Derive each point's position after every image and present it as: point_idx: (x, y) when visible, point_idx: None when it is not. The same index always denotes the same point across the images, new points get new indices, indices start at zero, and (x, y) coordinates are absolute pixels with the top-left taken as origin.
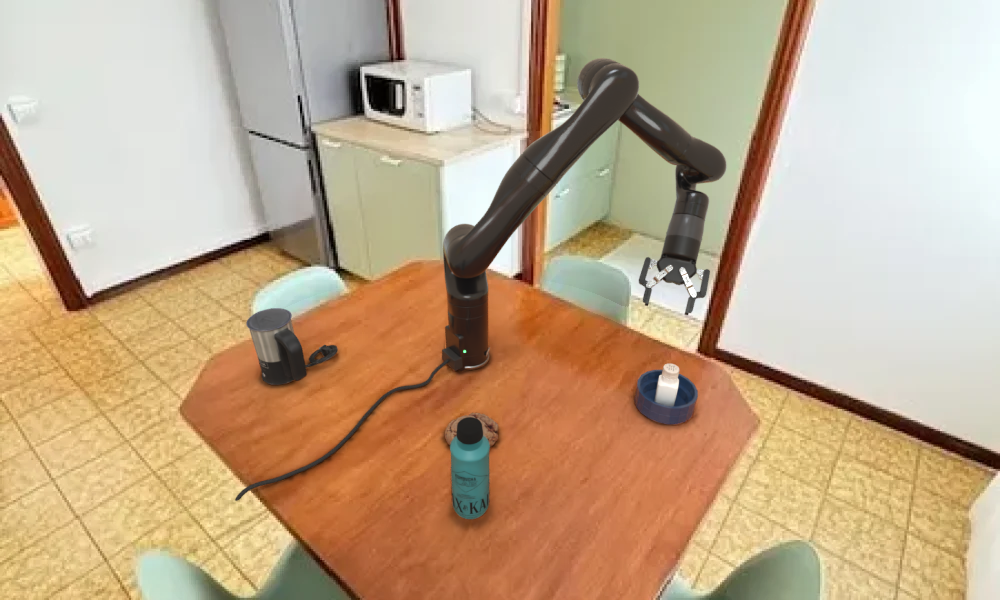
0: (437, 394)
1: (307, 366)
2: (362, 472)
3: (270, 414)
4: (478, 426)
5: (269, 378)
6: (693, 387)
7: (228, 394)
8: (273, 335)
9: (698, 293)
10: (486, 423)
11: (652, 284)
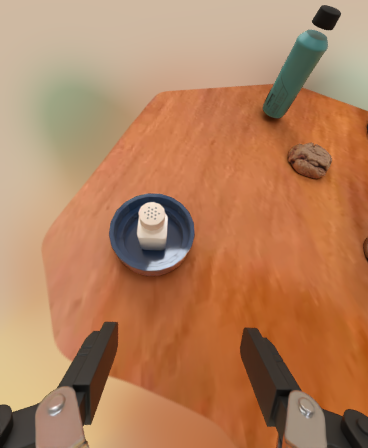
0: (363, 197)
1: None
2: (341, 127)
3: None
4: (324, 8)
5: None
6: (114, 239)
7: None
8: None
9: (20, 433)
10: (307, 162)
11: (293, 416)
